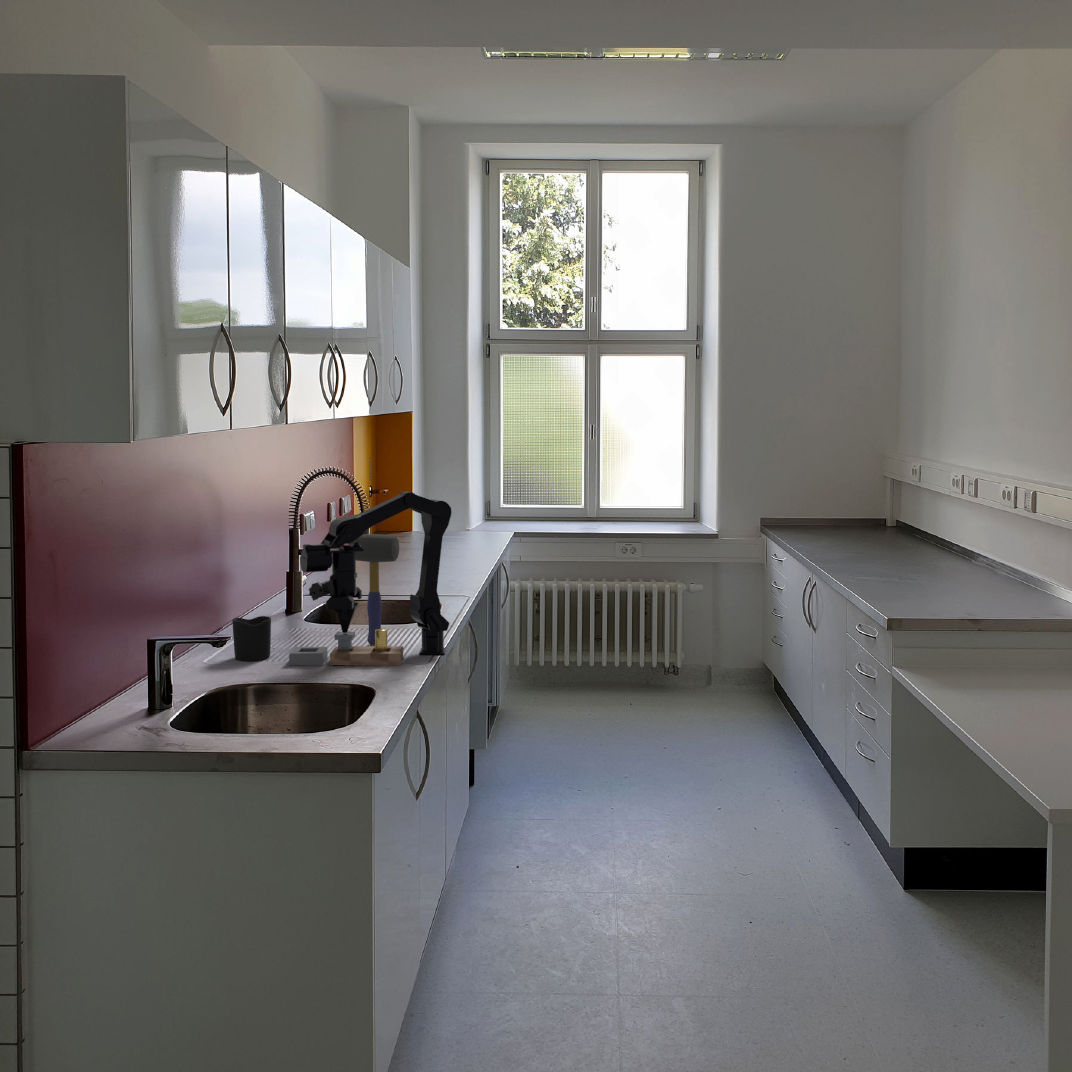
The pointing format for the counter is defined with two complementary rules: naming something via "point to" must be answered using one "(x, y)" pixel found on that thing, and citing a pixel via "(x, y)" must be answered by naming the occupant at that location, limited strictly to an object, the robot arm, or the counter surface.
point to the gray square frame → (308, 656)
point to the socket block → (367, 656)
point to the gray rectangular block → (344, 640)
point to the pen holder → (252, 638)
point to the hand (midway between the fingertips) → (344, 632)
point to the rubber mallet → (376, 572)
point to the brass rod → (381, 640)
